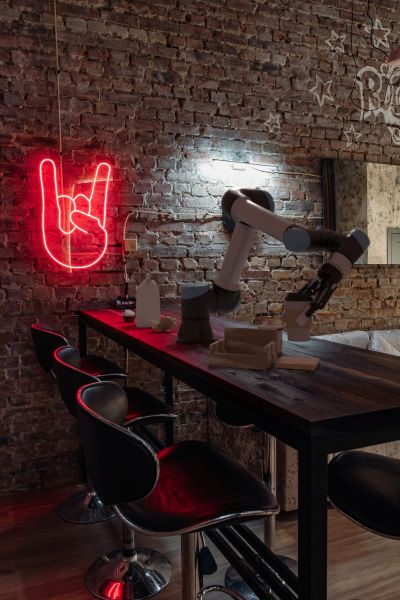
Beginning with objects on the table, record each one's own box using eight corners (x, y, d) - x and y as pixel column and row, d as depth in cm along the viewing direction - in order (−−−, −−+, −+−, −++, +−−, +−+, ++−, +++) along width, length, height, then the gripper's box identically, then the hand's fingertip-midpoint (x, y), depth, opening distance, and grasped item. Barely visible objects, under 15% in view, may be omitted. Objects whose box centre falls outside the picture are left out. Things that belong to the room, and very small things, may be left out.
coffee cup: (314, 338, 170) (314, 291, 169) (312, 343, 161) (312, 293, 160) (285, 337, 173) (286, 291, 171) (282, 341, 164) (282, 292, 163)
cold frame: (224, 355, 184) (225, 327, 183) (276, 359, 178) (277, 329, 177) (208, 365, 167) (208, 334, 166) (265, 369, 161) (265, 336, 160)
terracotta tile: (281, 360, 175) (281, 356, 175) (319, 362, 172) (319, 358, 171) (274, 367, 164) (274, 362, 164) (314, 370, 160) (314, 365, 160)
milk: (135, 324, 272) (135, 273, 270) (158, 323, 274) (157, 273, 272) (137, 327, 260) (136, 273, 258) (160, 326, 263) (160, 273, 261)
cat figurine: (149, 318, 247) (174, 310, 248) (153, 331, 250) (178, 324, 250) (150, 325, 239) (176, 317, 240) (154, 338, 242) (180, 331, 243)
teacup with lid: (287, 353, 190) (287, 320, 189) (263, 354, 187) (263, 321, 186) (273, 347, 201) (273, 316, 200) (250, 348, 199) (250, 317, 198)
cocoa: (136, 322, 286) (136, 299, 286) (137, 322, 280) (137, 300, 279) (118, 321, 284) (118, 299, 283) (118, 322, 278) (119, 299, 277)
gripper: (362, 279, 161) (317, 334, 156) (320, 277, 181) (279, 326, 177) (348, 261, 159) (301, 317, 154) (307, 261, 179) (265, 310, 174)
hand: (289, 322), depth 165 cm, fingers closed on coffee cup, 9 cm apart
